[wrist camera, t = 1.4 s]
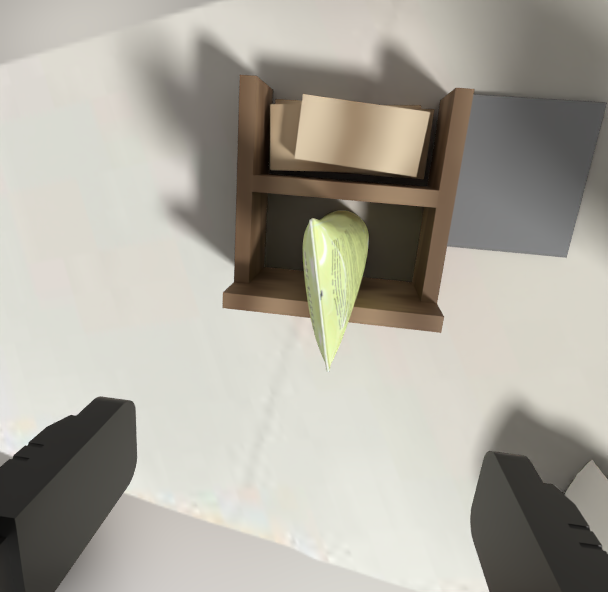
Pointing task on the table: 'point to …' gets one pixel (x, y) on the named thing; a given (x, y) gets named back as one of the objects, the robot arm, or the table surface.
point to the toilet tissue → (592, 500)
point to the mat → (524, 173)
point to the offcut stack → (349, 137)
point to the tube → (333, 275)
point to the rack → (258, 183)
